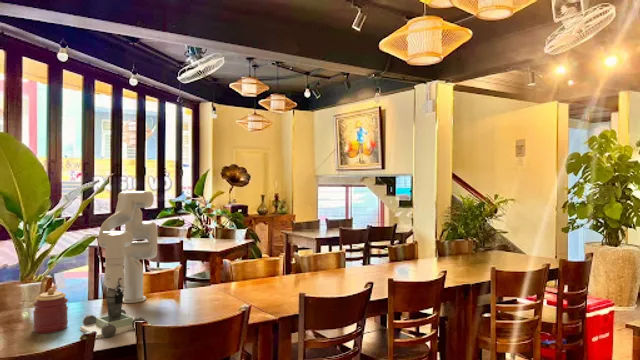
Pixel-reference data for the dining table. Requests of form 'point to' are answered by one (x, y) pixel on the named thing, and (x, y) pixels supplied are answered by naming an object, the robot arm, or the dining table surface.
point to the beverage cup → (113, 306)
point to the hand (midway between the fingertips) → (114, 301)
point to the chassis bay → (109, 324)
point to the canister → (50, 312)
